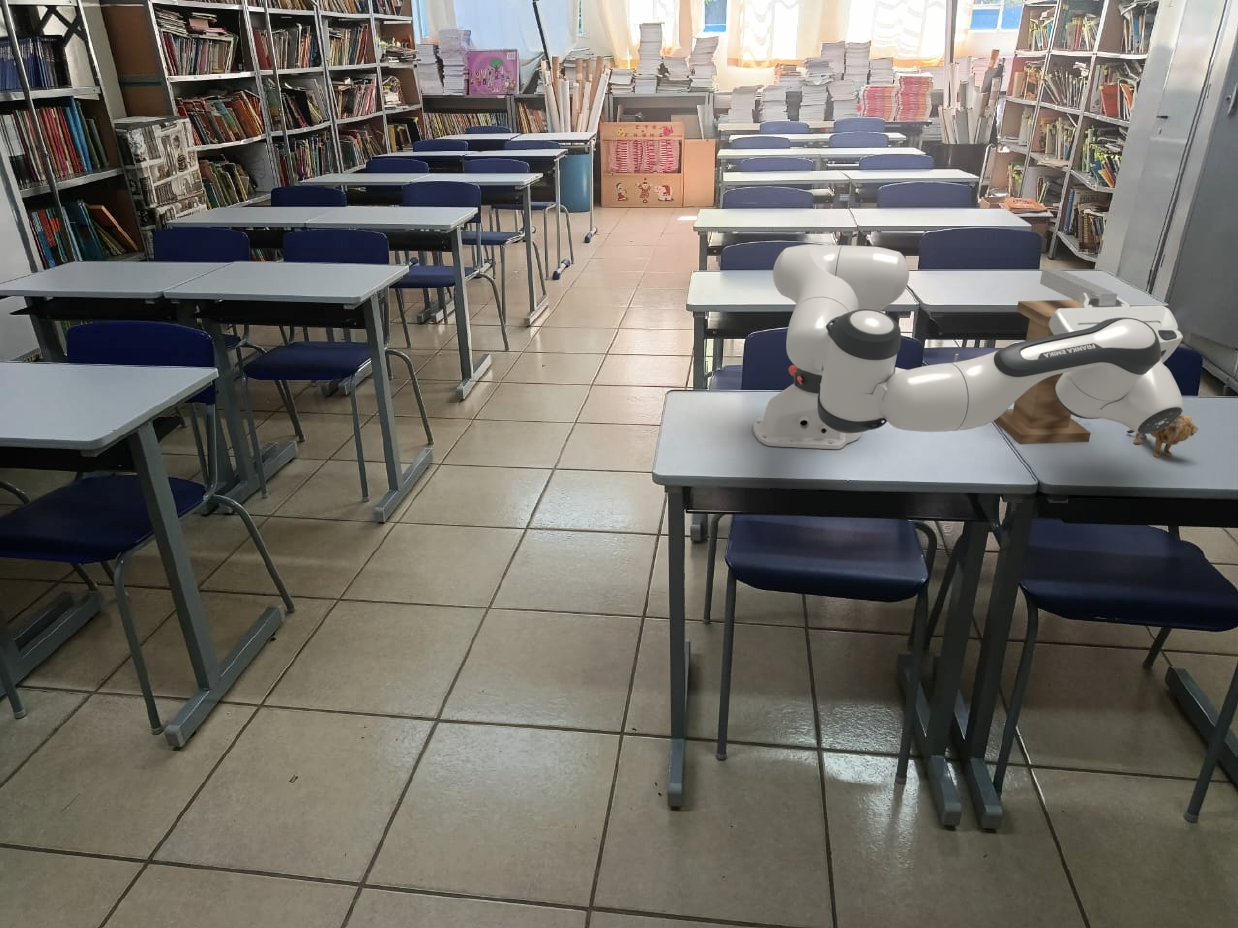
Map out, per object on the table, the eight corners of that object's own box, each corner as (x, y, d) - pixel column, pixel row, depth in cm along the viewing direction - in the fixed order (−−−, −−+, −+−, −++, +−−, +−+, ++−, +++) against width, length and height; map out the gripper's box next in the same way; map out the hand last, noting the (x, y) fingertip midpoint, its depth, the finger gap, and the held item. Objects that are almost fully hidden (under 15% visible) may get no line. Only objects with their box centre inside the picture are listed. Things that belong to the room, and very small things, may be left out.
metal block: (1097, 311, 149) (1100, 294, 147) (1039, 283, 169) (1042, 268, 167) (1113, 310, 149) (1117, 294, 147) (1054, 283, 169) (1057, 268, 167)
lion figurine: (1193, 462, 158) (1206, 418, 154) (1168, 465, 157) (1181, 421, 153) (1137, 433, 171) (1147, 392, 167) (1114, 435, 170) (1124, 394, 166)
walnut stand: (1019, 443, 168) (1043, 318, 157) (990, 418, 180) (1011, 300, 169) (1088, 441, 168) (1117, 316, 157) (1055, 416, 180) (1079, 298, 169)
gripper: (1057, 364, 146) (1033, 309, 154) (1173, 361, 146) (1143, 306, 154) (1072, 340, 141) (1046, 283, 149) (1193, 336, 141) (1160, 280, 149)
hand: (1096, 295), depth 151 cm, fingers closed on metal block, 3 cm apart
